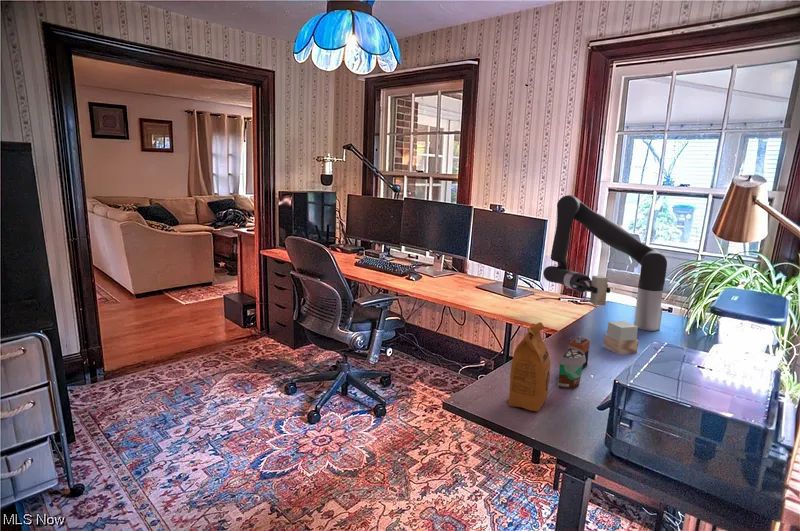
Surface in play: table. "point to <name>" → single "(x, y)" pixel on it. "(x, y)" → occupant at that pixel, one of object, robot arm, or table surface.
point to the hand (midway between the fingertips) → (603, 290)
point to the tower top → (622, 331)
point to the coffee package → (530, 371)
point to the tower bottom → (620, 345)
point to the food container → (571, 368)
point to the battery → (581, 346)
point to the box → (599, 290)
